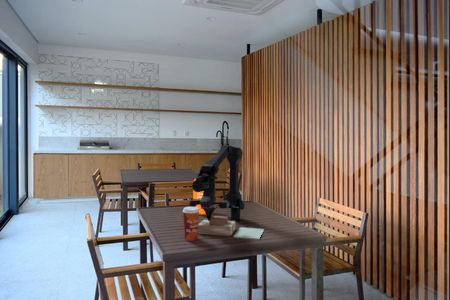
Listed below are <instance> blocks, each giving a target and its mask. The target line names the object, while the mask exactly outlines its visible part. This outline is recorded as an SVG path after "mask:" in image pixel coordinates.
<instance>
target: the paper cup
mask: <svg viewBox="0 0 450 300" xmlns="http://www.w3.org/2000/svg"><path fill="white" fill-rule="evenodd" d="M182 209H183V210H182V213H183V215H182V216H183V230H184V240H185V241H187V242H188V241H189V242H195V241H197V240H198V224H199V218H200V214H199V212H200V211H199V209H198V208H197V207H191V206H185V207H184V208H182Z"/></svg>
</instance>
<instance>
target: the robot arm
mask: <svg viewBox="0 0 450 300" xmlns="http://www.w3.org/2000/svg"><path fill="white" fill-rule="evenodd" d="M243 153H244V152H243V149H241V147H237V146H236V147H235V146H232V145H231V144H229V145H228V144H223V145H221V146H220V149H219V150H218V151H217V152H216V153H215V154H214V156H213V157H212V158H211V159H209V160H206V162H204V163H203V164H202V165H201V167H200V169H199V173H198V174H197V176H196V177H195V179H196V180H195V181H194V180H193V183H192V185H191V186H192V187H191V188H192V189H193V190H194V191H195V192H202V191H204V192H203V196H202V198H201V199H193V198H192V199H191V200H190V201H189V206H188V207H196V206H197V205H200V206H201V209H203V210H204V211H205V213H206V214H205V216H206V219H208V221H209V220H210V219H211V218H212V217H213V216H214V212H215V210H217V209H218V208H219V209H230V210H229V211H230V215H229V217H228V221H238V222H241V221H242V219H243V216H242V215H241V213H242V210H244V209H245V205H246V204H245V202H244V200H243V198H242V194H241V192H240V190H239V183H240V182H239V178H240V177H239V175H240V173H239V171H240V169H239V168H240V167H239V166H240V165H239V164H240V162H241V161H242V159H243ZM226 159H227V163H229V182H228V183H229V187H228V188H229V189H228V192H227V193H226V194H225V200H222V199H221V200H220V201H216V200H217V199H216V193H217V190H216V180H218V177H217V176H216V175H217V174H218V172H219V170H220V165H221V164H222V163H223V162H224V160H226ZM193 190H192V191H193Z"/></svg>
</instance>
